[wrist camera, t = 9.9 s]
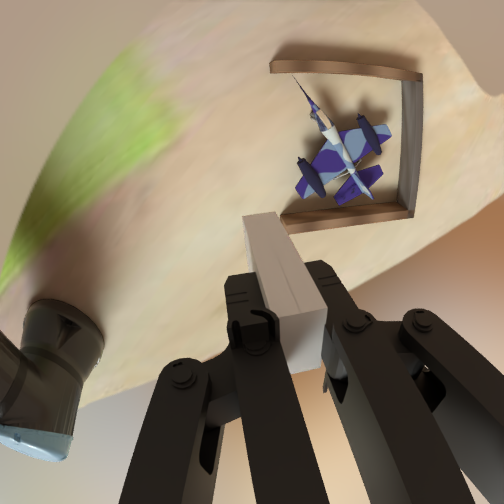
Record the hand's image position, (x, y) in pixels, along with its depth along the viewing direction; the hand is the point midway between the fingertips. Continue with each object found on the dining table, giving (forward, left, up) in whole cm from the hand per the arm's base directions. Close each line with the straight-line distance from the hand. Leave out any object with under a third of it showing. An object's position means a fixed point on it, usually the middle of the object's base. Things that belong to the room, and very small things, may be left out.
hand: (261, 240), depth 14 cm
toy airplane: (+12, 0, -21) cm, 24 cm away
